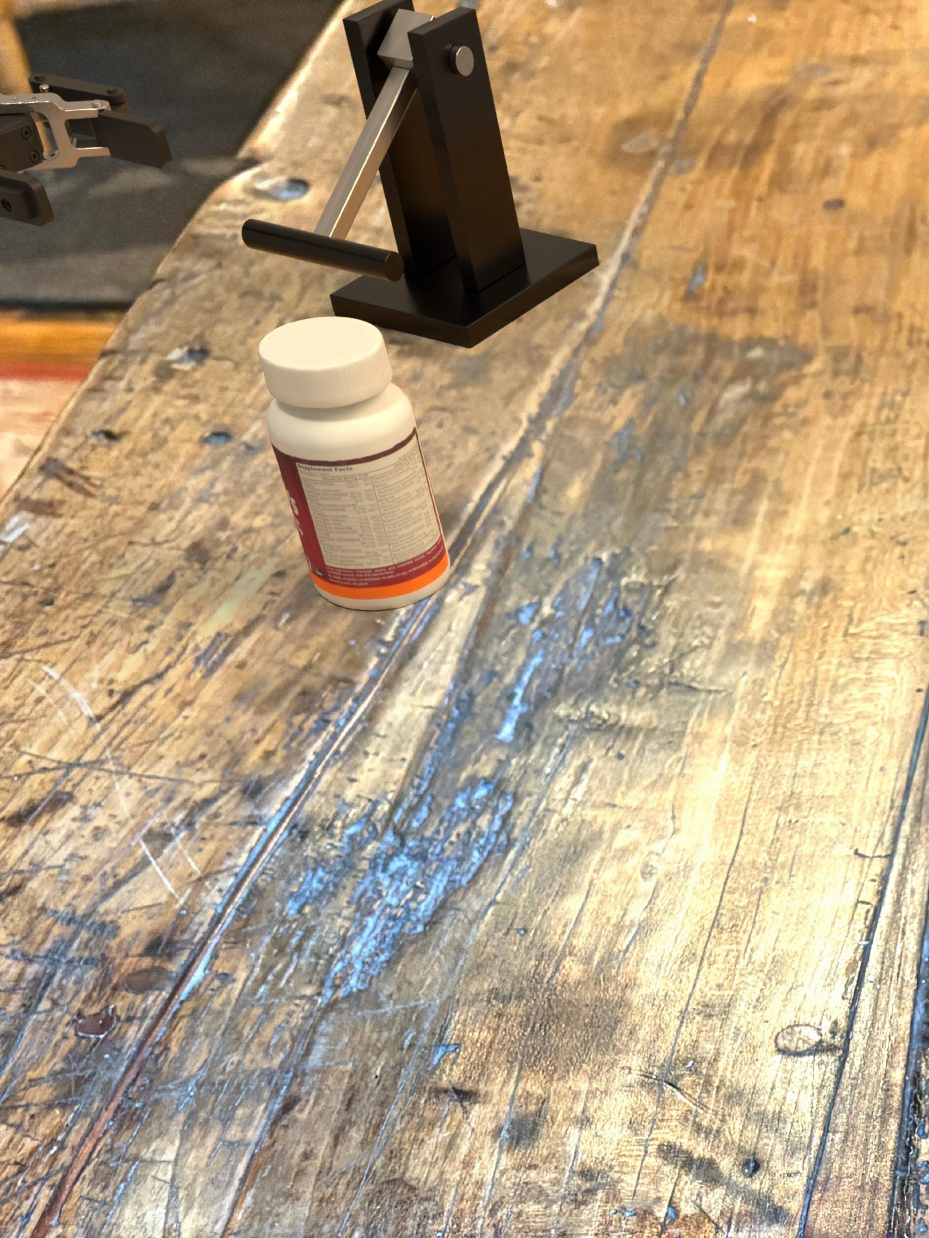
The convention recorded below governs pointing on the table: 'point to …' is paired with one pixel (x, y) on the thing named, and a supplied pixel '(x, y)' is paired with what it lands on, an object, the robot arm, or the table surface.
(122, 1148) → the table surface
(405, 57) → the flush lever
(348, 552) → the pill bottle
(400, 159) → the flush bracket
